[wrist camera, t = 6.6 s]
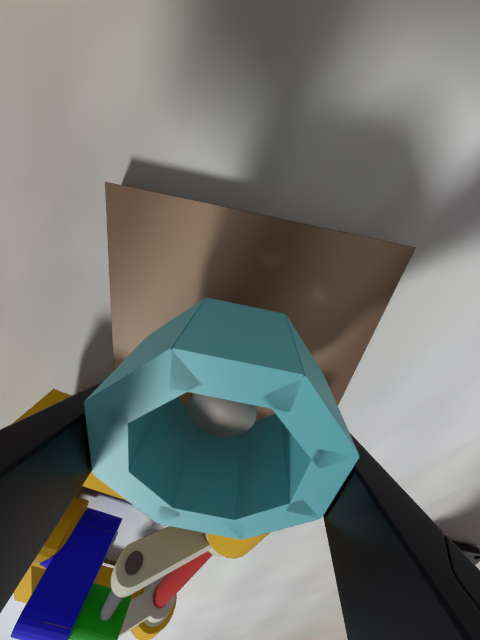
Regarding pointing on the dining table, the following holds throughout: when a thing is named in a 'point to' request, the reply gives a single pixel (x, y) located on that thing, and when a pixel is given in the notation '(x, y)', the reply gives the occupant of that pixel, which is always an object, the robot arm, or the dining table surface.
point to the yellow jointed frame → (109, 572)
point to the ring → (212, 451)
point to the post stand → (244, 283)
